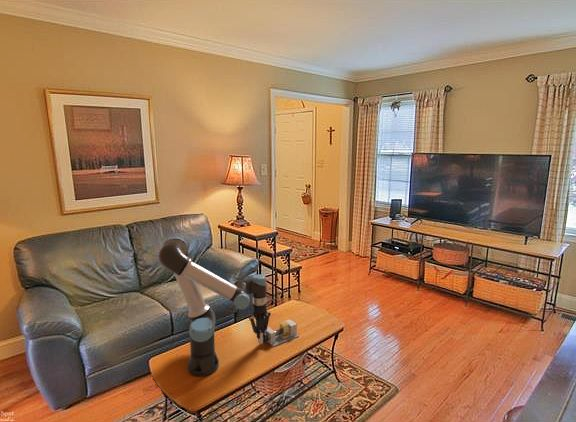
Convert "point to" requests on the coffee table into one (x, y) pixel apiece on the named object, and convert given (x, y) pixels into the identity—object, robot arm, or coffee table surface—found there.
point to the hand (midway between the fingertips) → (260, 342)
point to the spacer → (285, 328)
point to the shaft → (277, 332)
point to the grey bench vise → (279, 339)
